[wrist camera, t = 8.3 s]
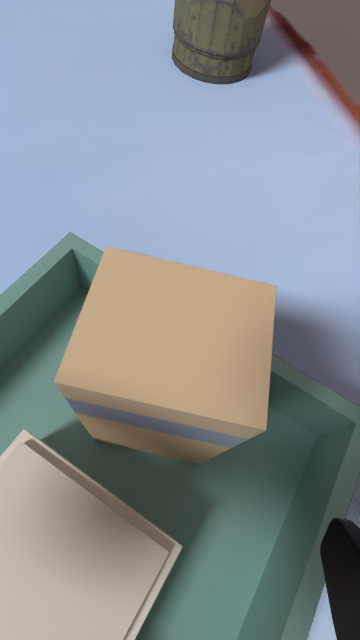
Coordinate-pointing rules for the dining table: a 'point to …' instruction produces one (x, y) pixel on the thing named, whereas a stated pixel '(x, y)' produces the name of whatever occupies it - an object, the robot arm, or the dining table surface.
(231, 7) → the thermos
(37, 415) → the tote
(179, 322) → the oat carton
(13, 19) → the dining table surface
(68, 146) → the dining table surface
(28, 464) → the beige rectangular block
